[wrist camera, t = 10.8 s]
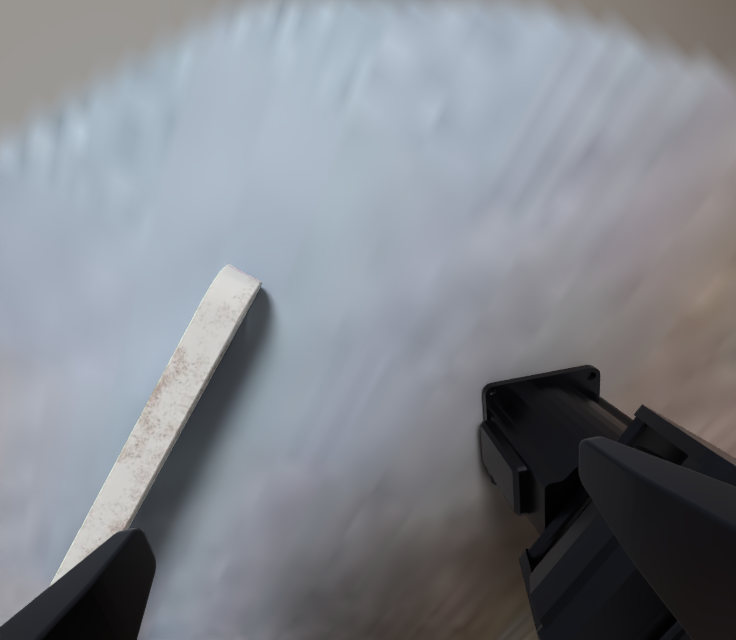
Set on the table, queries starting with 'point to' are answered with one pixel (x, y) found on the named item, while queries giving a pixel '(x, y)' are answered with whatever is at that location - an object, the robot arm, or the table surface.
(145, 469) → the wrench
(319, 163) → the table surface
